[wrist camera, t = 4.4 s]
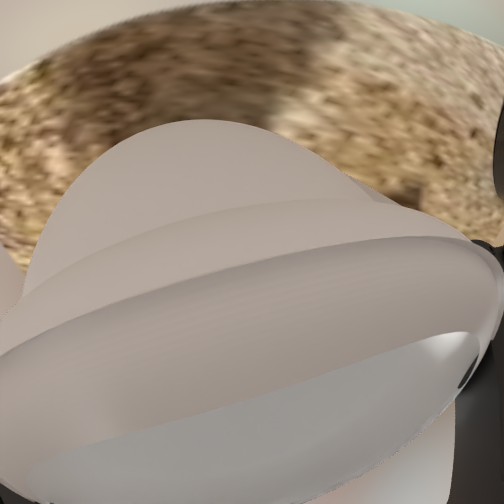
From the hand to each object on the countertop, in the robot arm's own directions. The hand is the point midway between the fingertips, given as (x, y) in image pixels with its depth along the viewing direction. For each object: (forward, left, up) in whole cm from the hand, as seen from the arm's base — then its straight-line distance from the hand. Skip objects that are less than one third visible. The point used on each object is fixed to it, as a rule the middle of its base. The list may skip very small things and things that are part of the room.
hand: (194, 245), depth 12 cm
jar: (0, 0, -6) cm, 6 cm away
